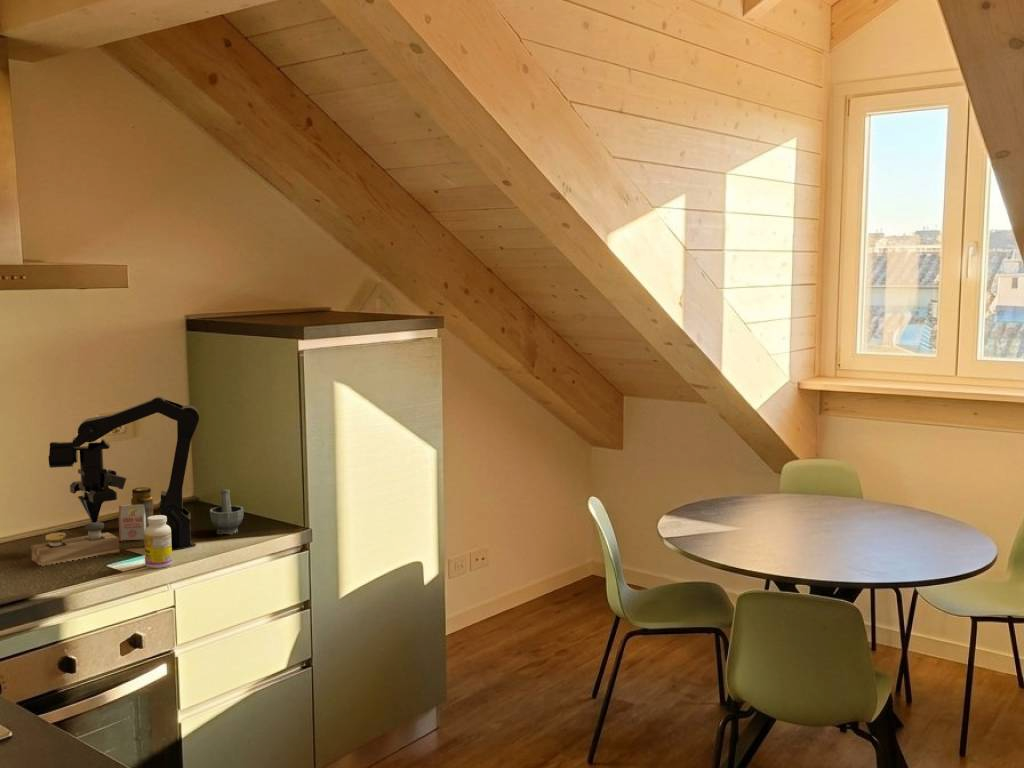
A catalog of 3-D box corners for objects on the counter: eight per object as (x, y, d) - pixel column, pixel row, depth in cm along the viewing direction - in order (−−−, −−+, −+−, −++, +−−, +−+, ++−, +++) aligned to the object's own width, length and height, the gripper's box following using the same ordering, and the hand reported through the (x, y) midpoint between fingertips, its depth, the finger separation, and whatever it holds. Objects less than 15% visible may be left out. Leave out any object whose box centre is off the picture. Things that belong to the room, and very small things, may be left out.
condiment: (150, 524, 296) (149, 485, 295) (160, 529, 289) (159, 490, 288) (126, 527, 291) (124, 488, 290) (135, 533, 285) (134, 493, 284)
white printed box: (121, 538, 279) (120, 504, 278) (146, 537, 281) (145, 503, 280) (119, 541, 276) (117, 507, 275) (144, 540, 277) (143, 506, 276)
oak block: (119, 552, 265) (118, 537, 264) (41, 566, 251) (40, 551, 251) (108, 546, 271) (107, 532, 270) (31, 559, 257) (31, 545, 257)
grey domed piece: (107, 539, 264) (106, 524, 263) (88, 542, 261) (88, 527, 260) (100, 536, 267) (100, 521, 267) (82, 539, 264) (81, 524, 264)
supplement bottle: (144, 563, 255) (142, 515, 253) (171, 560, 257) (169, 513, 256) (145, 570, 249) (144, 521, 247) (173, 567, 251) (171, 518, 250)
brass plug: (68, 550, 257) (68, 535, 257) (49, 553, 254) (49, 538, 254) (62, 546, 261) (62, 531, 260) (43, 550, 258) (43, 534, 257)
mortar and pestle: (245, 535, 283) (243, 494, 282) (211, 537, 280) (210, 496, 279) (242, 525, 294) (241, 486, 293) (209, 528, 291) (208, 488, 290)
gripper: (135, 466, 260) (137, 523, 262) (109, 457, 274) (111, 511, 276) (92, 472, 253) (95, 530, 255) (68, 462, 267) (70, 517, 268)
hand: (94, 522), depth 264 cm, fingers closed
